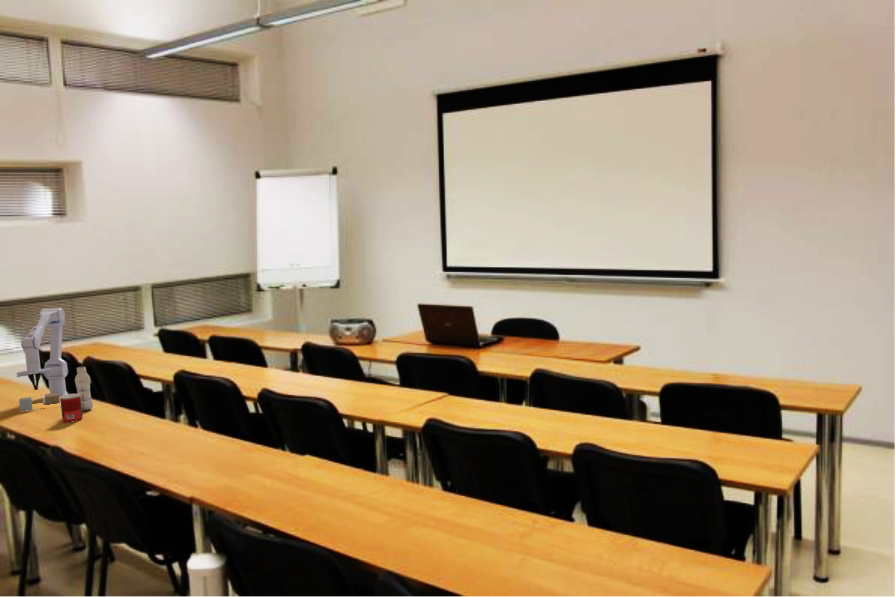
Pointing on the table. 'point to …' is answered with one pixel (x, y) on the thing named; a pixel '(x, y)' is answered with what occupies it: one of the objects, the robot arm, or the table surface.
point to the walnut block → (50, 399)
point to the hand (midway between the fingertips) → (36, 389)
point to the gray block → (25, 404)
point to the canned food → (71, 407)
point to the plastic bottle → (83, 388)
